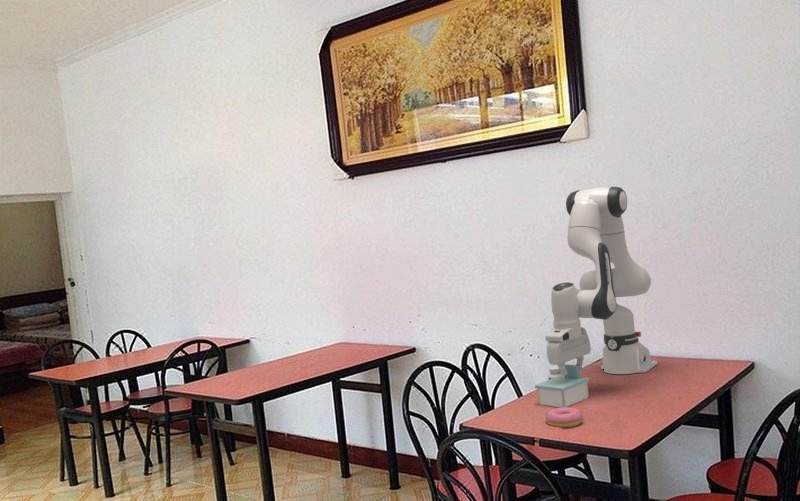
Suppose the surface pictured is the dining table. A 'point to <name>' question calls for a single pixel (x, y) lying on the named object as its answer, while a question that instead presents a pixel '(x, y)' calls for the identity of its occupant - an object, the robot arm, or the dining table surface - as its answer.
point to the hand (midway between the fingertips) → (572, 372)
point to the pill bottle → (554, 372)
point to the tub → (563, 396)
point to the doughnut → (564, 417)
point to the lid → (564, 380)
